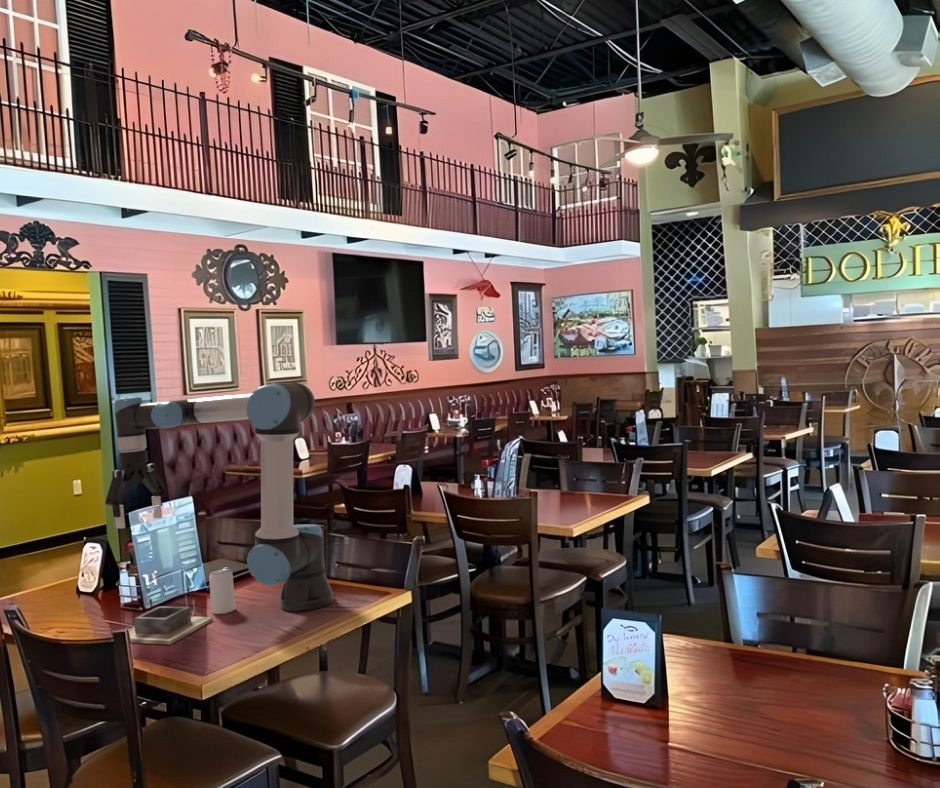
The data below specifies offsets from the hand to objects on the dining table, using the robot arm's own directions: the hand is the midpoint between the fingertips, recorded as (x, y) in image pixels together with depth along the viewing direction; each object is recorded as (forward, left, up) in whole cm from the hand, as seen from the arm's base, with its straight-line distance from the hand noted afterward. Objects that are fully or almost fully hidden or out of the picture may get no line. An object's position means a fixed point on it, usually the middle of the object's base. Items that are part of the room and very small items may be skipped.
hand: (139, 523), depth 224 cm
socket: (-16, +13, -27) cm, 34 cm away
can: (-23, -4, -27) cm, 36 cm away
